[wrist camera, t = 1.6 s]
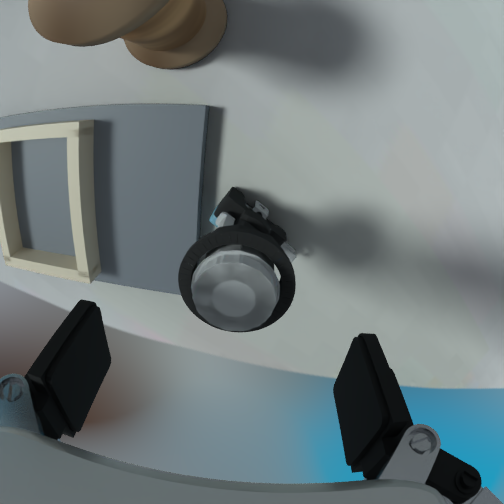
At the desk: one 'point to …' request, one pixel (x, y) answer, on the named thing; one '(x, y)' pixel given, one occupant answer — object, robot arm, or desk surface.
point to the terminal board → (103, 192)
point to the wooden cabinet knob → (136, 26)
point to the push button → (239, 269)
